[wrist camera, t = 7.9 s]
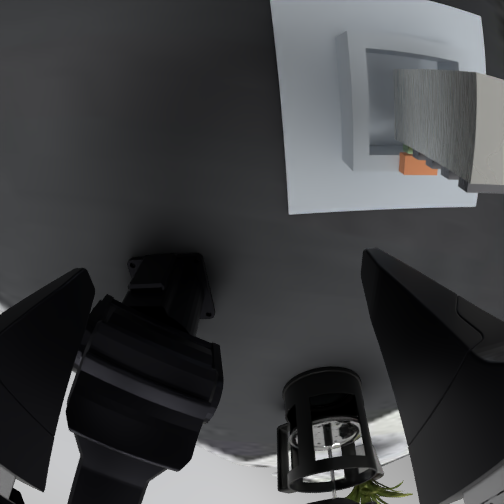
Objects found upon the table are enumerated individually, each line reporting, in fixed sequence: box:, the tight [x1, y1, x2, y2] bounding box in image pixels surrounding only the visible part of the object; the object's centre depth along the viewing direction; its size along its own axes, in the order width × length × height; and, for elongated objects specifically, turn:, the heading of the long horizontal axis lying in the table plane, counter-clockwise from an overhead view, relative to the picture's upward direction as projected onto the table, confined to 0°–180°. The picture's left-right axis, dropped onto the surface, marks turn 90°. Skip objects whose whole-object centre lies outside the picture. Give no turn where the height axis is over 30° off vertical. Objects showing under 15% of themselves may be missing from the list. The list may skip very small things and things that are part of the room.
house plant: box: [344, 445, 412, 504], centre depth 38 cm, size 14×14×16 cm
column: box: [393, 69, 504, 193], centre depth 11 cm, size 5×4×8 cm
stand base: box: [270, 0, 486, 215], centre depth 16 cm, size 16×16×4 cm
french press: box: [277, 367, 378, 504], centre depth 24 cm, size 12×9×23 cm
